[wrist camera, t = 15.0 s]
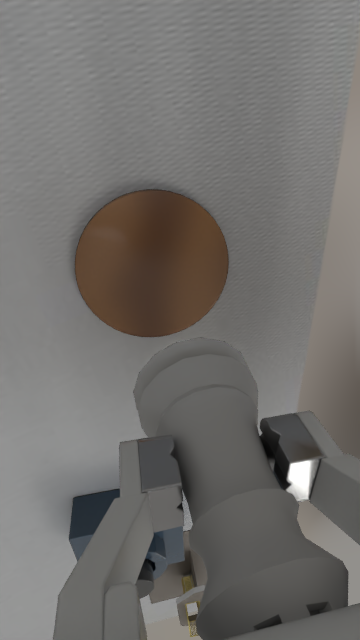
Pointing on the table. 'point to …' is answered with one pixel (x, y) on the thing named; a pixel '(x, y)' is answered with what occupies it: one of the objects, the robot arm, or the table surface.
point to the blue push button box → (90, 514)
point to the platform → (182, 583)
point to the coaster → (151, 263)
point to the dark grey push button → (145, 579)
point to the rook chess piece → (234, 494)
